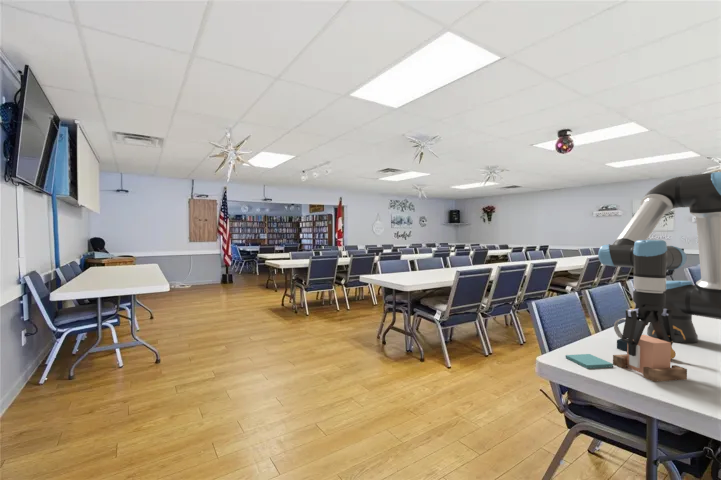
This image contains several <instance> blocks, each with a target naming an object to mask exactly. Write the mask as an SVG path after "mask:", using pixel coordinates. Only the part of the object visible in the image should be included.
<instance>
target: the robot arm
mask: <svg viewBox="0 0 721 480" xmlns="http://www.w3.org/2000/svg"><path fill="white" fill-rule="evenodd" d="M678 208H689V214H691V215H693V216H694V217H695V220H696V232H697V233H696V234H697V243H698V256H699V257H698V258H699V267H700V279H699V280H697V281H696V282H695V285H694V283H693V281H692V280H667V271H674V270H676V269H680V268H682V267H683V266H685V264H686V262H687V259H688V257H687V254H686V252H685V251H684V250H683V249H682V248H680V247H679V246H674V245H668V244H667V241H665V240H662V239H649V238H650V236H651V234H652V233H653V231H654V230H655V228H656V227H657V225H658V224H659V222H660V221H661V220H662V218H663V217H664V215H667V214H669V213H670V212H671V211H672V210H673V209H678ZM597 253H598V254H597V256H598V257H597V258H598V260H599V262H600V263H601V265H604V266H608V267H609V266H610V267H614V268H615V267H617V268H618V267H619V268H620V267H622V268H633V287H632V288H633V289H635V290H633V291H632V302H633V303H634V304H635V306H634V309H629V308H626V309H625V318H626V320H624V326H623V330H622V341H624V342H626V343H628V354H629V365H632V366H634V367H637V368H640V346H639V345H638V342H639V340H640V338H641V335H643V334H644V333H643V332H644V331H645V328H646V326H648V327H647V329H646V335H647V336H650V337H654V338H657V339H660V340H664V341H667V342H670V343H671V345H672V346H673V343H682V344H683V343H684V344H694V343H698V342H699V340H698V339H699V336H698V334H697V332H696V329H695V326H694V324H693V323H694V322H693V316H696V317H703V318H710V319H716V320H721V171H713V172H707V173H706V172H705V173H699V174H692V175H683V176H676V177H675V176H674V177H671V178H669V179H666V180H665V181H663V182H660V183H659V184H656V186H654V187H653V188H651V189H650V190H649V191H648V192H647V193H646V194H645V195H644V196H643V197H642V199H641V201H640V207H639V208H638V209H637V211H636V212H635V214H634V215H633V216H632V217H631V219H630V220H629V222H627V224H626V226H625V227H624V229H623V230H622V231H621V232H620V234H619V235H618V236H617V238H616V239H615V241H613V243H612V244H604V245H601V246H600V247H599V249H598V252H597ZM673 326H675V327H677V328H679V329H680V330H682V332H683V334H684V336H685V339H684V338H683V336H682V334H681V332H680V331H679V330H676V329H673ZM654 330H655V332H654V334H652V333H653V331H654ZM669 336H670V337H669ZM627 338H628V339H627ZM633 339H634V341H633Z"/></svg>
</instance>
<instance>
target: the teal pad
mask: <svg viewBox="0 0 721 480" xmlns="http://www.w3.org/2000/svg"><path fill="white" fill-rule="evenodd" d="M565 359H567V360H569V361H570V362H573V363H575V364H577V365H580V367H583V368H586V369H602V368H604V369H605V368H613V367H614V365H613V362H609V361H607V360H605V359H603V358H600V357H598V356H596V355H593V354H591V353H581V354H578V353H577V354H566V355H565Z"/></svg>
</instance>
